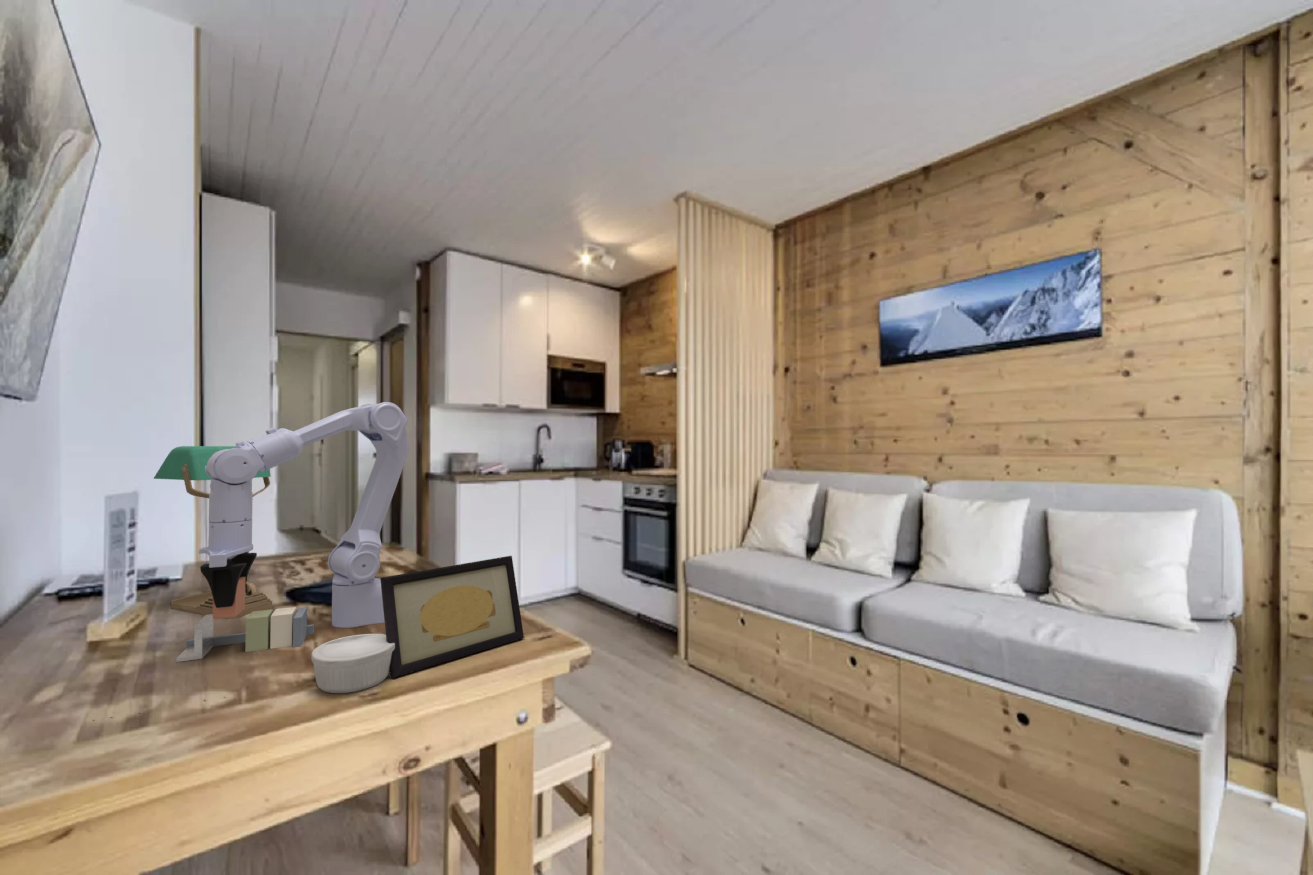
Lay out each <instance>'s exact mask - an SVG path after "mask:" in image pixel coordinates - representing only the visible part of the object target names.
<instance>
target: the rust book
mask: <svg viewBox="0 0 1313 875" xmlns="http://www.w3.org/2000/svg"><path fill="white" fill-rule="evenodd" d="M244 609H245V577H240V578H239V581H238V585H237V591H236V596H235V600H234V603H233V606H231V607H221V608H216V606H215V603H214V600H213V620H218V619H224V618H229V617H236V616H237V615H238V614H239V613H241V612H242V611H243V610H244ZM236 618H237V617H236Z"/></svg>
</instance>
